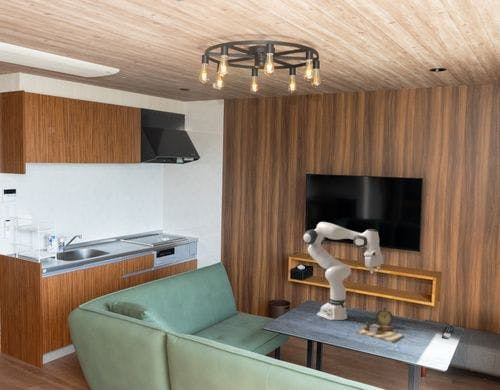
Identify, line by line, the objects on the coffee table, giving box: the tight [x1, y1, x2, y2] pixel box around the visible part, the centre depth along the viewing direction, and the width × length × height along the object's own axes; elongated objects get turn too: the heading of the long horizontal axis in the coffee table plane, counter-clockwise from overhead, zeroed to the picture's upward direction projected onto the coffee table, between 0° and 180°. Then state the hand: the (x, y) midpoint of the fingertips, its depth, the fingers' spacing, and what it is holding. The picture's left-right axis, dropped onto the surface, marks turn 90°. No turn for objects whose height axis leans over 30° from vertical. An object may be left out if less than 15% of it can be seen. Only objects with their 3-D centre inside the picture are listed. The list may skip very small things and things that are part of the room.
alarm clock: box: [375, 303, 394, 326], centre depth 335 cm, size 11×5×16 cm, turn 62°
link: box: [363, 321, 394, 332], centre depth 323 cm, size 19×4×5 cm, turn 84°
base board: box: [356, 327, 404, 344], centre depth 318 cm, size 26×15×1 cm, turn 49°
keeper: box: [369, 323, 382, 334], centre depth 320 cm, size 5×6×4 cm
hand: (375, 272), depth 333 cm, fingers open, 8 cm apart
